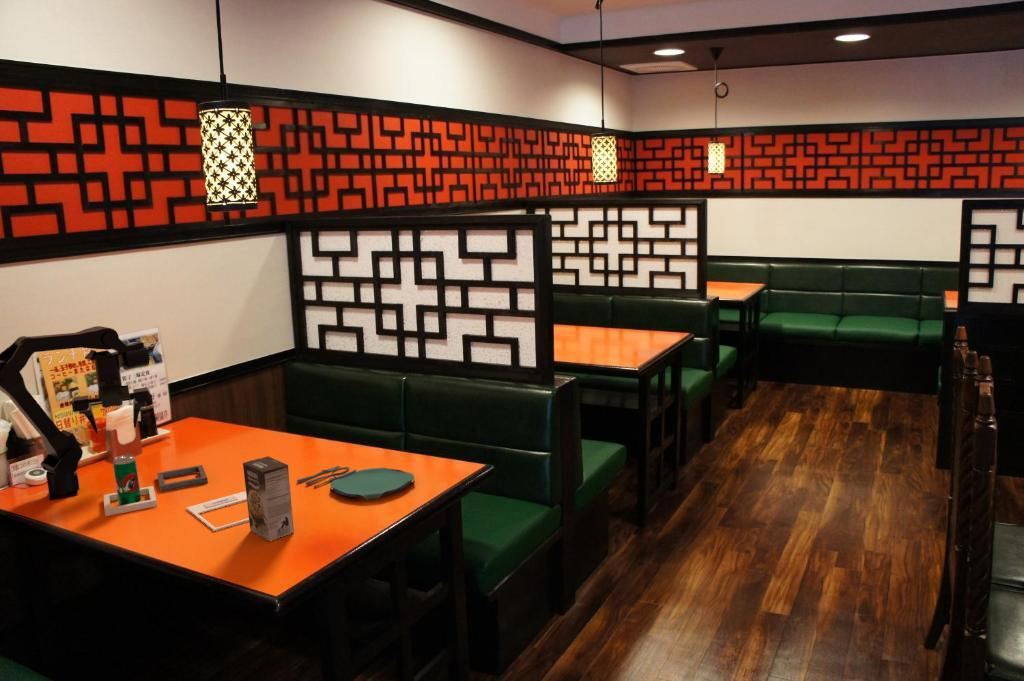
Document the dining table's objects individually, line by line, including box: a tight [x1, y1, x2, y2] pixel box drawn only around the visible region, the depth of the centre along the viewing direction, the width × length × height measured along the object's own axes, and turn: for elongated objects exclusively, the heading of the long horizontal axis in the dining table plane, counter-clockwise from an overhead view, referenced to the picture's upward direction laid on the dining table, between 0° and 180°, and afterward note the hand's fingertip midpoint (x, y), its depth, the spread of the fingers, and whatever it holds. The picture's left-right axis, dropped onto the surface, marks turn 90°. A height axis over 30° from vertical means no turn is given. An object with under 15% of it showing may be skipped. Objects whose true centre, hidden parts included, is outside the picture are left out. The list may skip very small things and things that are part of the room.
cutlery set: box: [296, 465, 415, 500], centre depth 211 cm, size 20×30×2 cm, turn 54°
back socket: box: [156, 464, 209, 493], centre depth 218 cm, size 11×11×2 cm
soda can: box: [112, 453, 142, 506], centre depth 203 cm, size 5×5×12 cm
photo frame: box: [185, 490, 249, 532], centre depth 196 cm, size 15×1×18 cm
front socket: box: [103, 485, 158, 517], centre depth 204 cm, size 11×11×2 cm
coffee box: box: [242, 456, 295, 542], centre depth 182 cm, size 9×6×16 cm
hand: (116, 430), depth 221 cm, fingers open, 9 cm apart
